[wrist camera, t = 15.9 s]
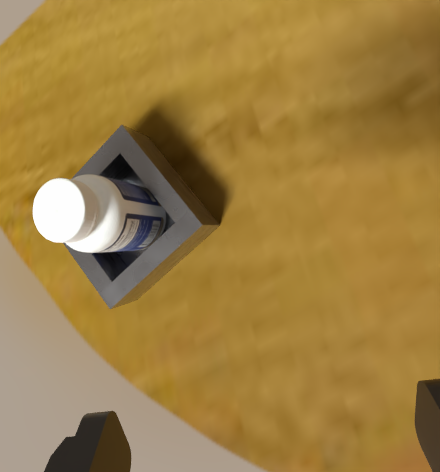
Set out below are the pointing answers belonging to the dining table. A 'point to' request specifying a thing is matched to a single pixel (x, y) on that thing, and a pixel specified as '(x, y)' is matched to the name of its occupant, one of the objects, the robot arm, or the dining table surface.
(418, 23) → the dining table surface
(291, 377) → the dining table surface
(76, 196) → the pill bottle
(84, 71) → the dining table surface
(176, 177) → the socket cup
